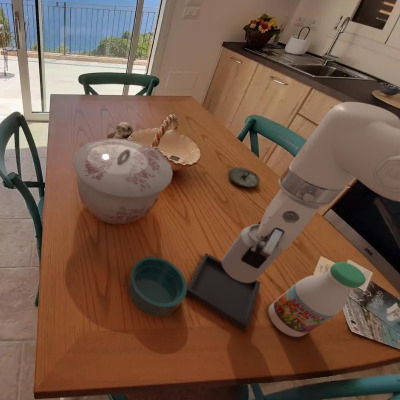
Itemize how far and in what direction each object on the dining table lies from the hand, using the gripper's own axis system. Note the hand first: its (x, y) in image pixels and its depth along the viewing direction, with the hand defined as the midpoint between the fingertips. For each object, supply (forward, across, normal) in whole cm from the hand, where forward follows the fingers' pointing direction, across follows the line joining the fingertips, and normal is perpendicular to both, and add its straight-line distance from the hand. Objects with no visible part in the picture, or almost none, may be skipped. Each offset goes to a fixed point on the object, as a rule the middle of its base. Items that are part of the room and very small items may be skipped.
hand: (254, 250), depth 54 cm
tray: (+16, 0, 0) cm, 16 cm away
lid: (+16, +51, +7) cm, 54 cm away
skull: (+17, +45, +56) cm, 74 cm away
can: (+7, 0, 0) cm, 7 cm away
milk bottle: (+16, +2, -14) cm, 22 cm away
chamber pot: (+16, +8, +36) cm, 40 cm away
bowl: (+16, -11, +13) cm, 23 cm away
